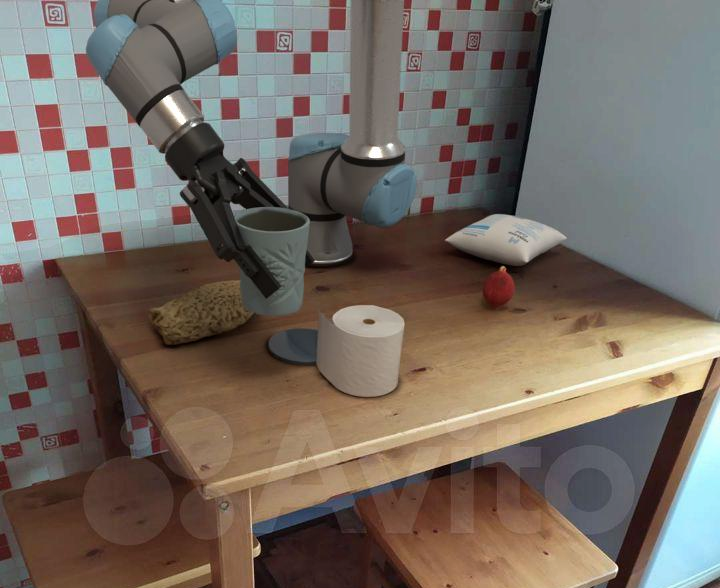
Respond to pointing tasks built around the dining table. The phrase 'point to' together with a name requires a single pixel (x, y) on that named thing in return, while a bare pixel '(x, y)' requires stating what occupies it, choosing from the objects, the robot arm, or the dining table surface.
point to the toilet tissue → (361, 349)
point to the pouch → (506, 239)
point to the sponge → (201, 313)
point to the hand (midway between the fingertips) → (291, 279)
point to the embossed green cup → (275, 257)
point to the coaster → (295, 346)
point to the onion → (498, 288)
